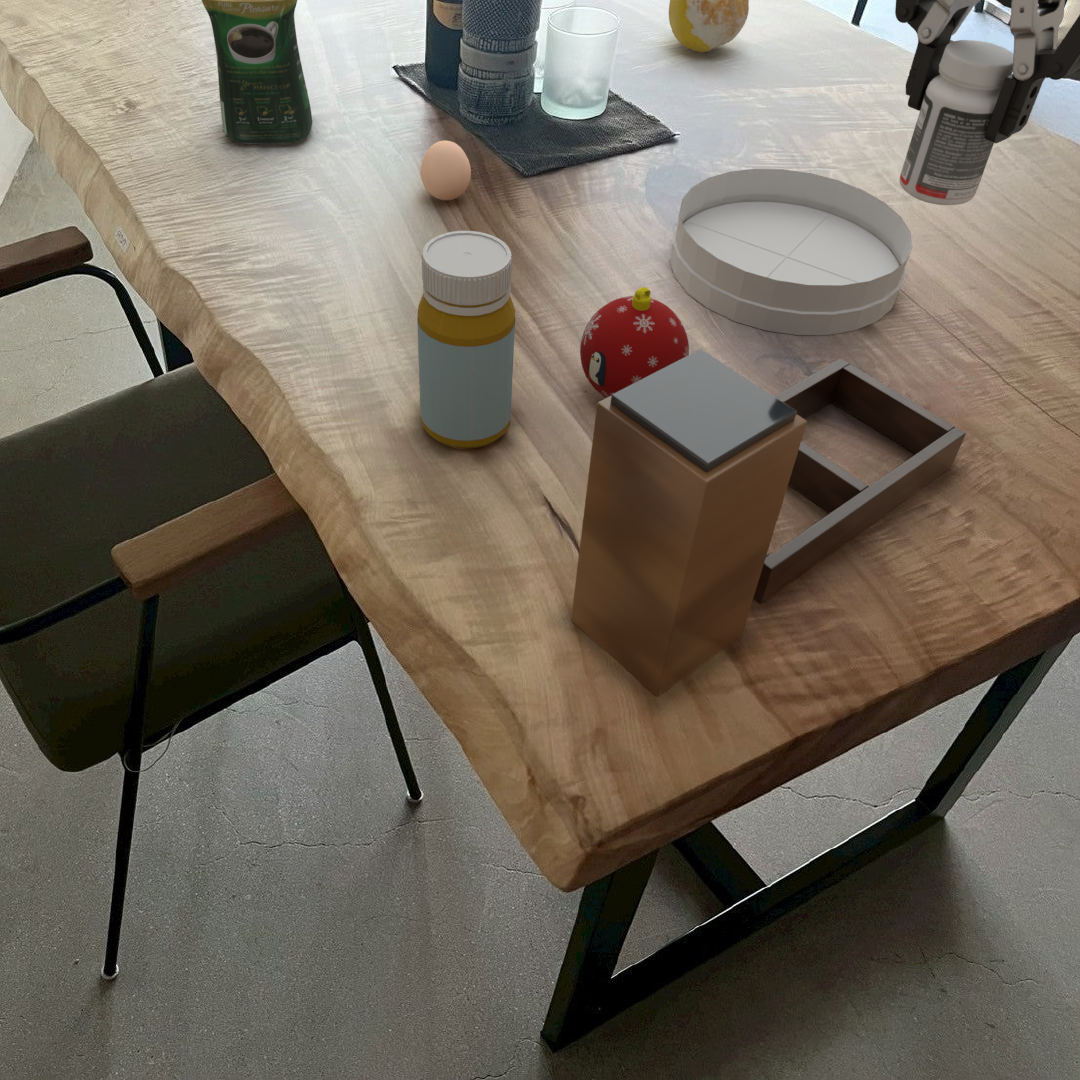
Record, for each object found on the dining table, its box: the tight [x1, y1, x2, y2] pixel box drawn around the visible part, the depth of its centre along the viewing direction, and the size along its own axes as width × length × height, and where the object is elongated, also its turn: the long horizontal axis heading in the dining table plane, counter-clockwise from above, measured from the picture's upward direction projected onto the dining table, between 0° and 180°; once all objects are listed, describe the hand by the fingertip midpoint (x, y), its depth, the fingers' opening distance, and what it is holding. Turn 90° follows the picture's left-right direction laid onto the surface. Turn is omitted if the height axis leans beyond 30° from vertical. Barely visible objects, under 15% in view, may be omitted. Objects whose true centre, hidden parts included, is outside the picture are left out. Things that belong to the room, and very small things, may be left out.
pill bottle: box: [899, 39, 1014, 206], centre depth 63 cm, size 5×5×8 cm
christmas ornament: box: [579, 286, 690, 399], centre depth 82 cm, size 9×9×10 cm
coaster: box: [611, 348, 797, 472], centre depth 56 cm, size 7×7×1 cm
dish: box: [669, 168, 913, 336], centre depth 100 cm, size 22×22×5 cm
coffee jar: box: [201, 0, 313, 145], centre depth 109 cm, size 10×8×19 cm
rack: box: [753, 357, 967, 605], centre depth 78 cm, size 12×23×4 cm, turn 131°
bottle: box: [416, 230, 516, 450], centre depth 77 cm, size 7×7×15 cm
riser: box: [570, 396, 808, 698], centre depth 62 cm, size 8×8×18 cm
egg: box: [420, 140, 472, 201], centre depth 105 cm, size 5×5×6 cm
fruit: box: [668, 0, 750, 53], centre depth 137 cm, size 10×11×10 cm
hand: (959, 120), depth 63 cm, fingers closed on pill bottle, 4 cm apart
